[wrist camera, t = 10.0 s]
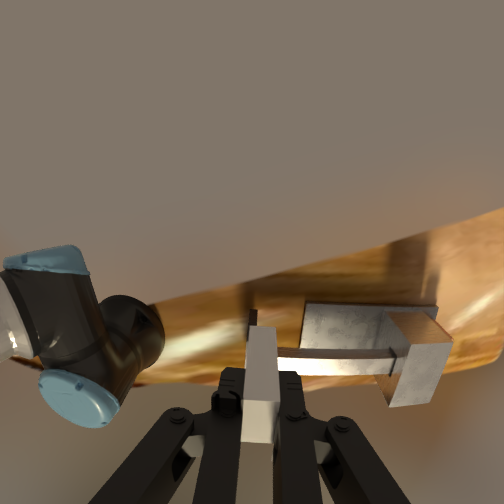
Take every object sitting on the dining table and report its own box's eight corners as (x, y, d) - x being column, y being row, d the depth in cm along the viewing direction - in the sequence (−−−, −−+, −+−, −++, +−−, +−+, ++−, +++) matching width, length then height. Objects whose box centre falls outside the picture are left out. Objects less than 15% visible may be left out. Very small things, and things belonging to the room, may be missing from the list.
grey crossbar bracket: (245, 370, 52) (241, 408, 42) (249, 309, 49) (246, 341, 39) (391, 372, 51) (409, 405, 42) (408, 315, 48) (433, 343, 39)
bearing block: (296, 364, 55) (303, 413, 42) (305, 301, 52) (318, 341, 39) (418, 362, 55) (445, 401, 42) (436, 305, 51) (472, 337, 38)
